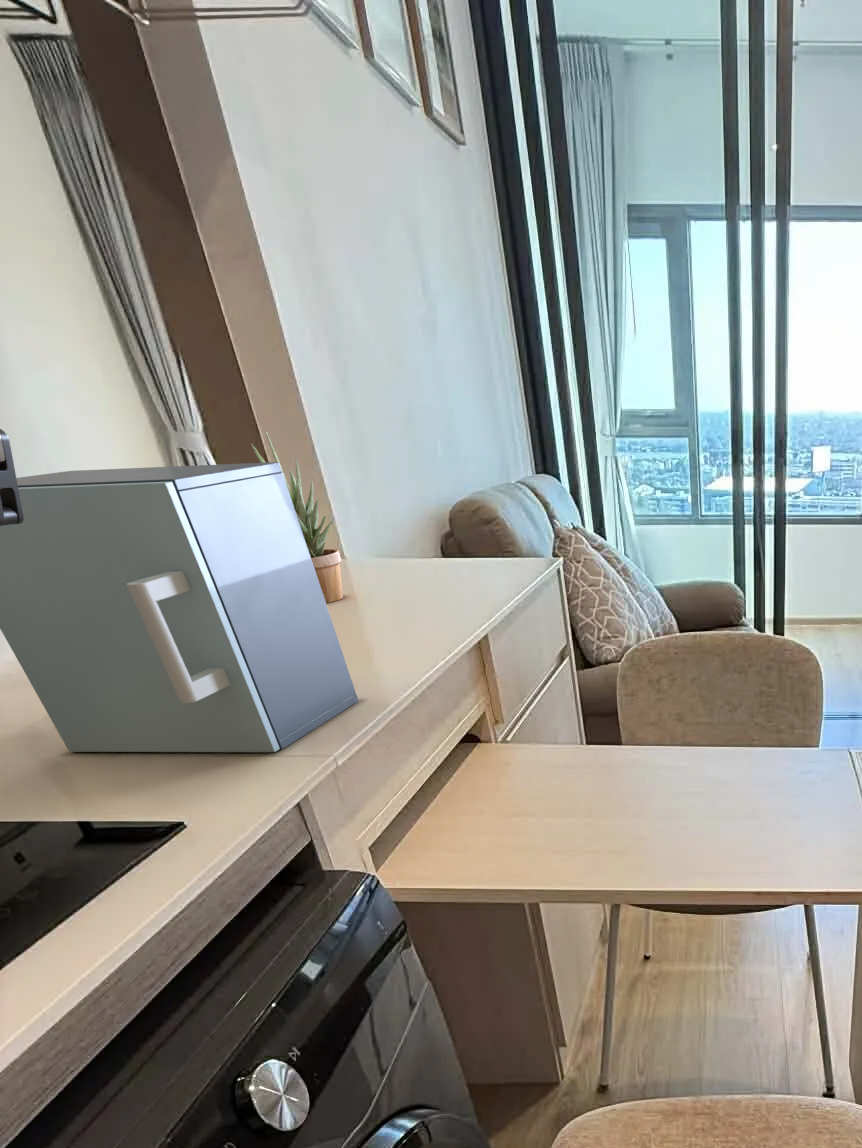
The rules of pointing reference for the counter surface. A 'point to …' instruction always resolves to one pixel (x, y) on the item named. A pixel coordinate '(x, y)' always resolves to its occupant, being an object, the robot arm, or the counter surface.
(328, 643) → the cupboard
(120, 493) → the door
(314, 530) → the potted plant
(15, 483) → the robot arm
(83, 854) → the counter surface
